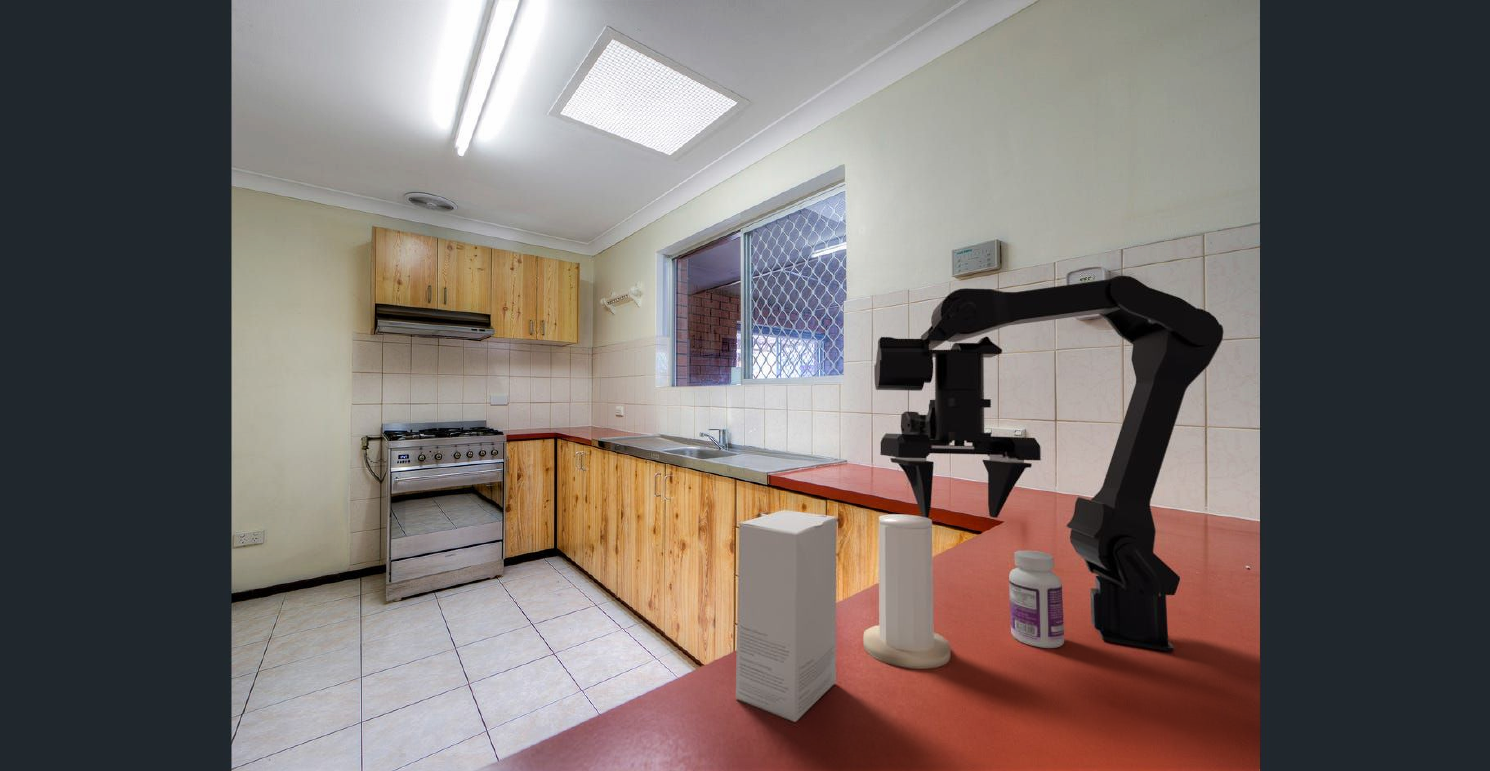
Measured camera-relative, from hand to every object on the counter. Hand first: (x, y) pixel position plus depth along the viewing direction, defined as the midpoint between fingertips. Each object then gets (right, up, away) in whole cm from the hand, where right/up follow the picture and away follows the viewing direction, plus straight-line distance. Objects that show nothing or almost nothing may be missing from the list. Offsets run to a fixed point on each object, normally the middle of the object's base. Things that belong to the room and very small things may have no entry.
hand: (959, 517), depth 63 cm
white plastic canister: (-9, -11, -8) cm, 16 cm away
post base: (-9, -12, -8) cm, 17 cm away
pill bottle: (+7, -13, -5) cm, 16 cm away
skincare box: (-23, -12, -17) cm, 31 cm away
